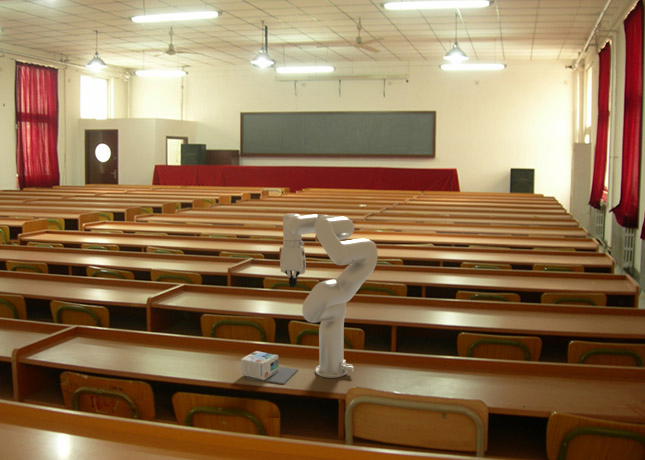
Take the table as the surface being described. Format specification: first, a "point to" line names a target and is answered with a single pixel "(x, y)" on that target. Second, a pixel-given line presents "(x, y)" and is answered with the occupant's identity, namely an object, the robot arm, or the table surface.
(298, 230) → the robot arm
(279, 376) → the mat
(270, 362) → the light bulb box
